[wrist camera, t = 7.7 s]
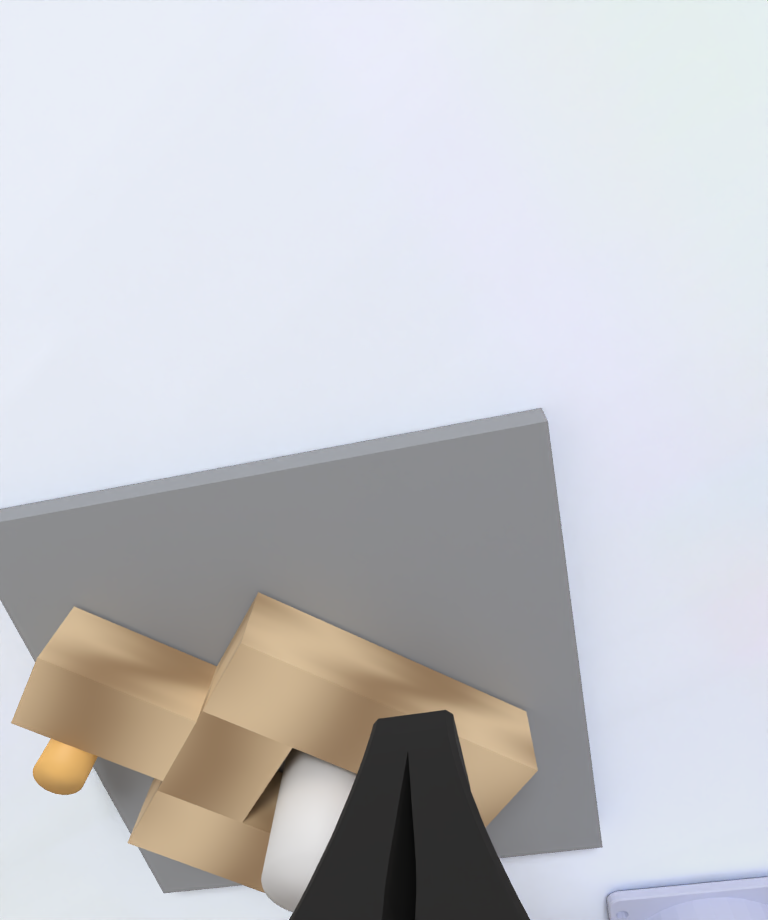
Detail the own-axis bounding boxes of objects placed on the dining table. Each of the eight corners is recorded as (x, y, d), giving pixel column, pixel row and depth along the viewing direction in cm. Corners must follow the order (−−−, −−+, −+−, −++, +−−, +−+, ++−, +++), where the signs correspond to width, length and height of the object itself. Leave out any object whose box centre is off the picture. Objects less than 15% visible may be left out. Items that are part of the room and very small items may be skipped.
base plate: (596, 823, 27) (641, 994, 22) (171, 870, 30) (117, 1035, 24) (541, 408, 20) (589, 511, 14) (-21, 513, 22) (-161, 636, 17)
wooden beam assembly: (526, 711, 23) (537, 770, 21) (387, 872, 27) (385, 936, 25) (107, 524, 21) (72, 570, 19) (21, 733, 25) (-17, 790, 23)
